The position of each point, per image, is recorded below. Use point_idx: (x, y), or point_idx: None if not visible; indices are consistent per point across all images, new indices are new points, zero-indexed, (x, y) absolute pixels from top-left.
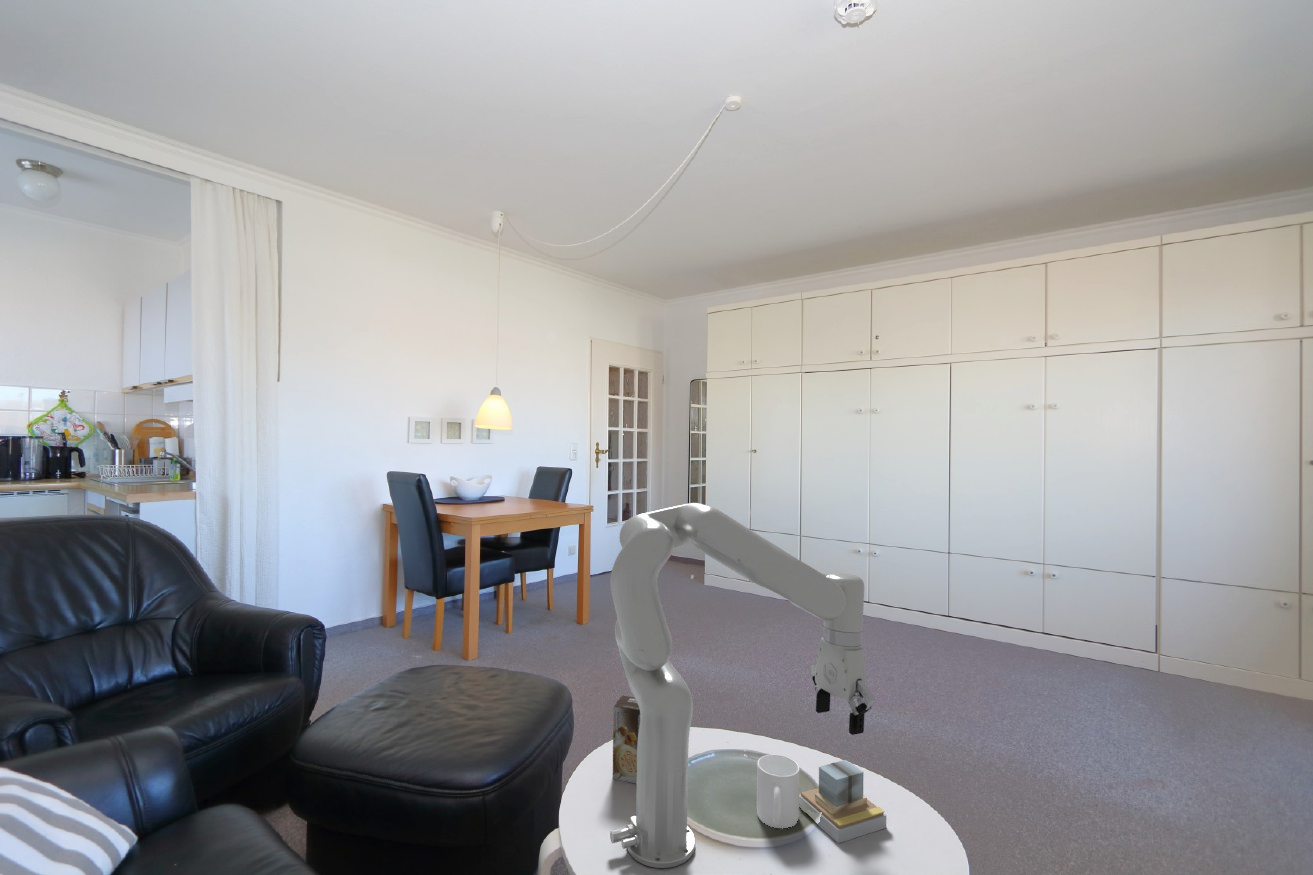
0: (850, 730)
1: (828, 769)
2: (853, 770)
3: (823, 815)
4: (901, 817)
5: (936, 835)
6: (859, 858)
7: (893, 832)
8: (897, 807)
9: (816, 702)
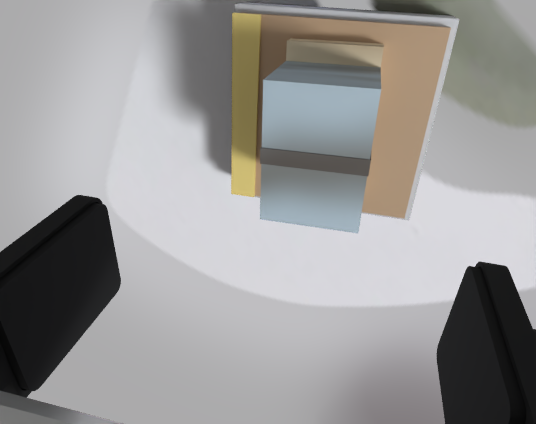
0: (69, 204)
1: (341, 112)
2: (284, 197)
3: (315, 17)
4: (257, 241)
5: (182, 248)
6: (177, 12)
7: (223, 179)
8: (289, 266)
9: (524, 324)
